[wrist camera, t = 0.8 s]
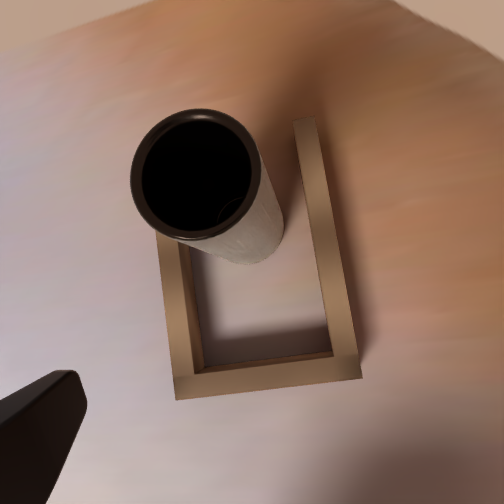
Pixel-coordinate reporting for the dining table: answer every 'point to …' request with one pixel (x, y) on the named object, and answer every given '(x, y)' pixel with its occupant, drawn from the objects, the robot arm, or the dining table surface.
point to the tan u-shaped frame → (276, 369)
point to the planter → (207, 186)
